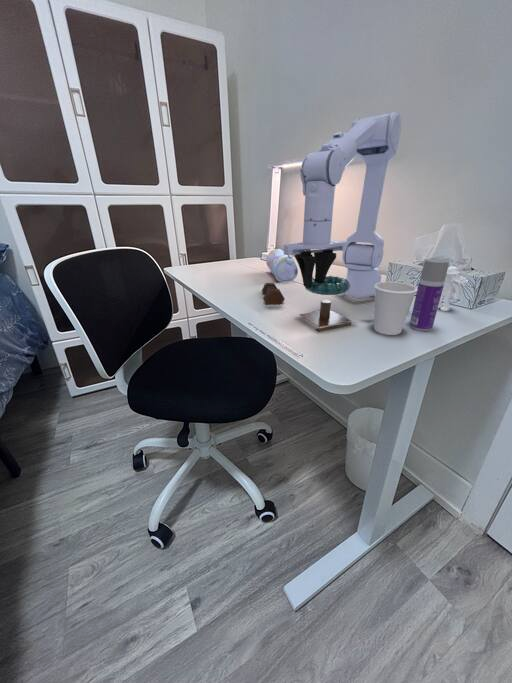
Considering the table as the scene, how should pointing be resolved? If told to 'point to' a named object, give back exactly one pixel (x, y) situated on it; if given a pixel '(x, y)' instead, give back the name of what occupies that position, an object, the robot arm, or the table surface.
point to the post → (326, 317)
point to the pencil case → (282, 266)
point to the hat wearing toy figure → (451, 286)
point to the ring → (329, 286)
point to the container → (428, 294)
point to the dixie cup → (392, 306)
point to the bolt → (272, 294)
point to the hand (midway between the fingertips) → (313, 285)
